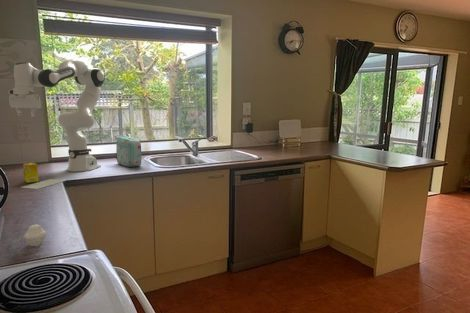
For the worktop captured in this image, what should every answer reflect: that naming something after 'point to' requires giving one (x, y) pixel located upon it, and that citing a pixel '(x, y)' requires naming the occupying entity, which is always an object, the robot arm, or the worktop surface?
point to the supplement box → (30, 173)
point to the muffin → (35, 235)
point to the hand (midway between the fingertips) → (26, 116)
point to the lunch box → (128, 151)
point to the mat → (43, 184)
